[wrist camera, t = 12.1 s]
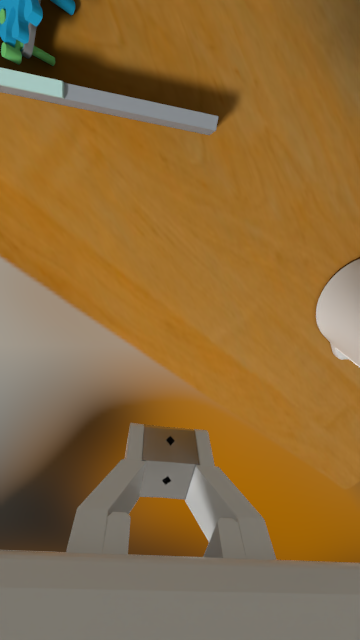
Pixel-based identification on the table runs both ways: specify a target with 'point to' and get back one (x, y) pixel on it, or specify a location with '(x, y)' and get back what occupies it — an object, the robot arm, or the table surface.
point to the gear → (24, 28)
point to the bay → (104, 102)
